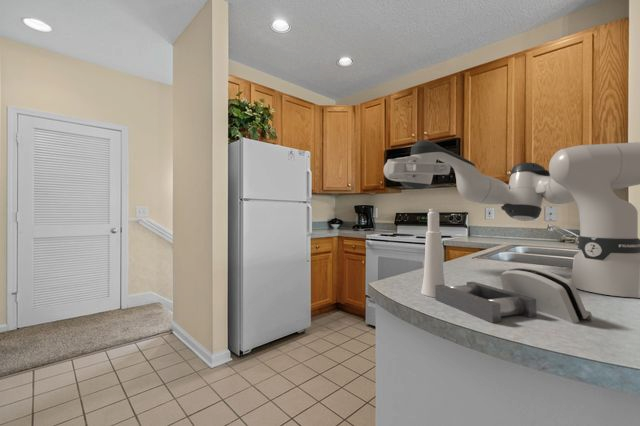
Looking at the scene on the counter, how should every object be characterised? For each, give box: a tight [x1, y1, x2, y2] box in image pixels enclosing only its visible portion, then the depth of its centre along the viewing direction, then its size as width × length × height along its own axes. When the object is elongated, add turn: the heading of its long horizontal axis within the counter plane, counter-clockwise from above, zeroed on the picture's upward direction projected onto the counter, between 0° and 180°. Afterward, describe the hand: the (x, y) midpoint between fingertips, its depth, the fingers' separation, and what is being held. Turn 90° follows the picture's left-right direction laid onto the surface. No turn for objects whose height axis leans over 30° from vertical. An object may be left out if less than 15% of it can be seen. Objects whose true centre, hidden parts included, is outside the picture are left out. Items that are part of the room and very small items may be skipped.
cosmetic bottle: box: [420, 208, 446, 298], centre depth 76 cm, size 6×6×22 cm
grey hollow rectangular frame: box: [434, 281, 537, 324], centre depth 66 cm, size 12×16×4 cm
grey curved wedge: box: [500, 266, 594, 324], centre depth 65 cm, size 17×5×10 cm, turn 11°
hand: (431, 167), depth 91 cm, fingers open, 8 cm apart
